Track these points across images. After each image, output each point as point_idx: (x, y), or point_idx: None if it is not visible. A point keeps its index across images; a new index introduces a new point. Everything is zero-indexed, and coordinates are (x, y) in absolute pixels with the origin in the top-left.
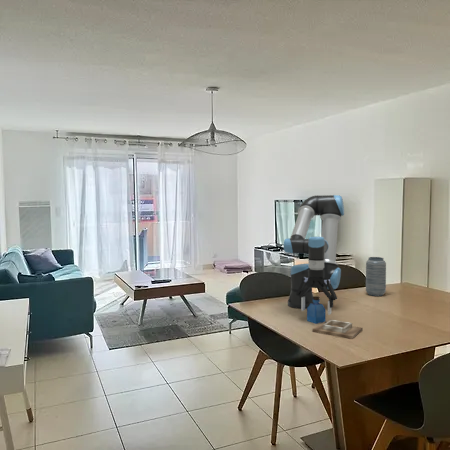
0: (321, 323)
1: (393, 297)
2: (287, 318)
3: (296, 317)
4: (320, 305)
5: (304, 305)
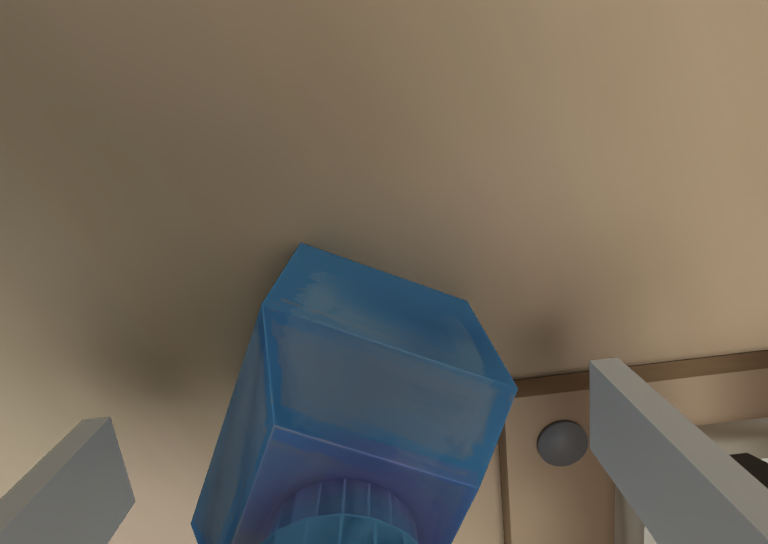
0: (511, 490)
1: None
2: (7, 468)
3: (51, 363)
4: (459, 524)
5: (66, 496)
